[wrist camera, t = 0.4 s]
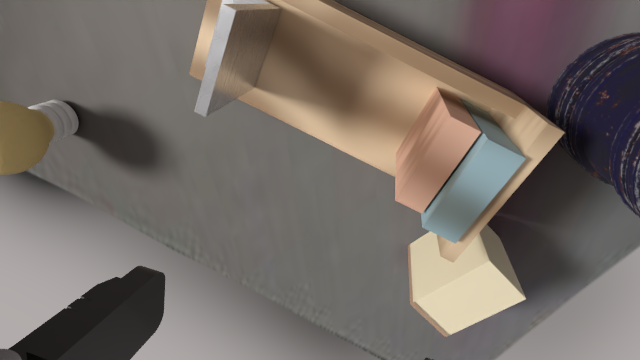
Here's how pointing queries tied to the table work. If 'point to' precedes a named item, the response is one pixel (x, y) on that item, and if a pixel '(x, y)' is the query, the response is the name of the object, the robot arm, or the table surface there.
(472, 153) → the rack
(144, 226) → the table surface
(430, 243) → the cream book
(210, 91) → the bookend
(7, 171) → the light bulb
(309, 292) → the table surface
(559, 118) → the storage jar
